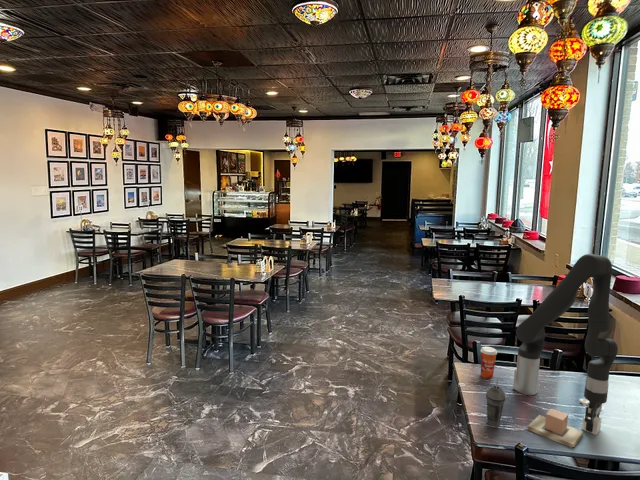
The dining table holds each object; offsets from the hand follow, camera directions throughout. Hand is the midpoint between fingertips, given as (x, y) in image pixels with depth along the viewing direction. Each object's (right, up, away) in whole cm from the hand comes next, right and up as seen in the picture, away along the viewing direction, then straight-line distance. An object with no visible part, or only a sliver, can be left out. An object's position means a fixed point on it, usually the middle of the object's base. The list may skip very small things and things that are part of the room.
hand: (591, 426), depth 169 cm
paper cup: (-24, +6, +45) cm, 51 cm away
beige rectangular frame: (-16, -1, -2) cm, 16 cm away
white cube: (0, -1, 0) cm, 1 cm away
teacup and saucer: (+13, +1, +21) cm, 25 cm away
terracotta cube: (-16, 0, -2) cm, 16 cm away
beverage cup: (-38, 0, +3) cm, 38 cm away
